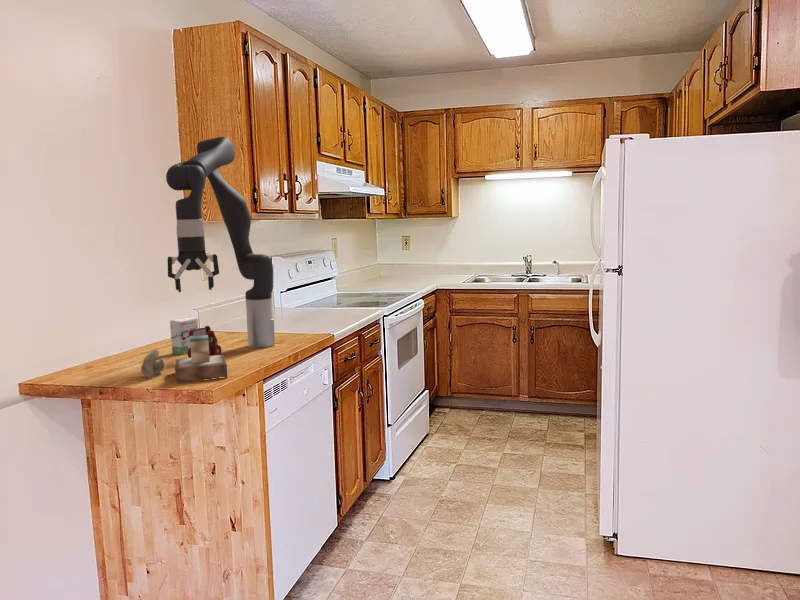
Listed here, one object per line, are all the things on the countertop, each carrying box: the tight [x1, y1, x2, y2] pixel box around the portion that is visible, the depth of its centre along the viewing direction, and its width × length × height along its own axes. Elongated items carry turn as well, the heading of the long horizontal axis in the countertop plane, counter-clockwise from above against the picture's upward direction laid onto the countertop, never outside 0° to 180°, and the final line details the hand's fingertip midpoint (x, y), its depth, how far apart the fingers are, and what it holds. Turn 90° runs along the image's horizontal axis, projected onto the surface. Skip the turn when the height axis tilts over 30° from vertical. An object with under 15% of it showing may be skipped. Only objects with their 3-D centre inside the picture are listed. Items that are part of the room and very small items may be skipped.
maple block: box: [190, 335, 210, 363], centre depth 182 cm, size 5×5×7 cm
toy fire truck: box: [186, 325, 222, 358], centre depth 207 cm, size 7×12×10 cm, turn 157°
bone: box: [140, 348, 165, 380], centre depth 183 cm, size 9×6×10 cm
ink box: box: [169, 316, 199, 355], centre depth 217 cm, size 8×5×12 cm, turn 151°
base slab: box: [174, 354, 228, 384], centre depth 183 cm, size 14×14×4 cm
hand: (195, 290), depth 182 cm, fingers open, 8 cm apart
